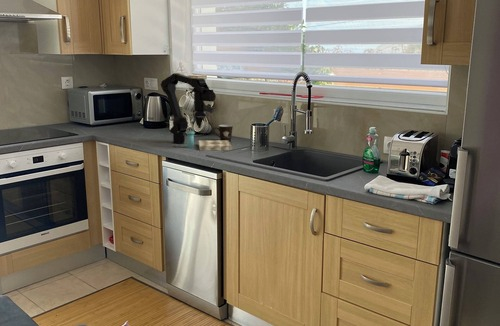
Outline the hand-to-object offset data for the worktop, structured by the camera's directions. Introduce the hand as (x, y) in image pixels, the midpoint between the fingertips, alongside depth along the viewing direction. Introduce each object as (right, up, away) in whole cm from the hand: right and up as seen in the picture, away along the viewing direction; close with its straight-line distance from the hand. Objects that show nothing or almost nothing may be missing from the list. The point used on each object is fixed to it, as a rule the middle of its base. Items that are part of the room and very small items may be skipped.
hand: (198, 126), depth 293 cm
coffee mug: (+13, -8, +21) cm, 26 cm away
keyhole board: (+9, -12, 0) cm, 15 cm away
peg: (-5, -12, -2) cm, 13 cm away
